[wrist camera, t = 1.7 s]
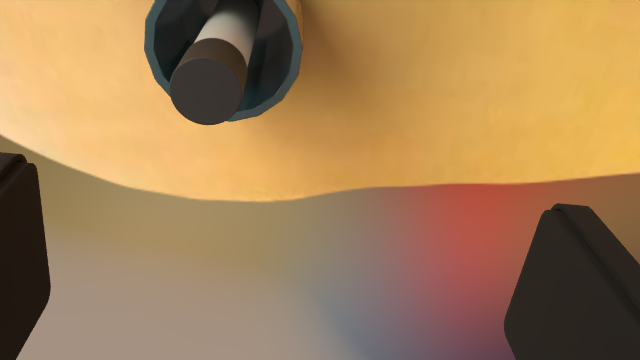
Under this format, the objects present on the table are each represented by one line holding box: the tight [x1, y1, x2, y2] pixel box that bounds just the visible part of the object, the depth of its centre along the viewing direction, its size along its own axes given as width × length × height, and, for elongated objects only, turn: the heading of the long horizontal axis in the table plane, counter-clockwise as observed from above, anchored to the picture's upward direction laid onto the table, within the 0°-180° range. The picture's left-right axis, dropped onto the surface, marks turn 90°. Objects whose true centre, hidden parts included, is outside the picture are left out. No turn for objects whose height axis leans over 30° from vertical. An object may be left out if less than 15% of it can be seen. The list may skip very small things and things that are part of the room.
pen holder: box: [144, 0, 303, 122], centre depth 33 cm, size 8×8×8 cm
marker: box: [169, 0, 260, 125], centre depth 30 cm, size 3×3×14 cm
